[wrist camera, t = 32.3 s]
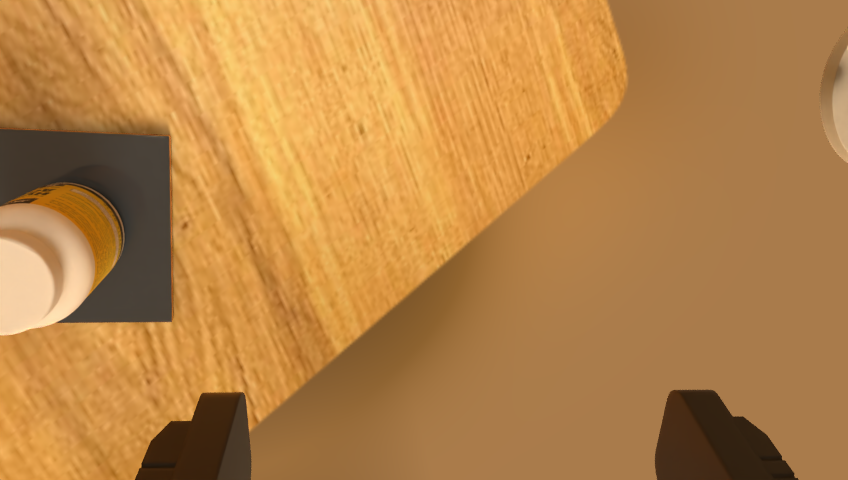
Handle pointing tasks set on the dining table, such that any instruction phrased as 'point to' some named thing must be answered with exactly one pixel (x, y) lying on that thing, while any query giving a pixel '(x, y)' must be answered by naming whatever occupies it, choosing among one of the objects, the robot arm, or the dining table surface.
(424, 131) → the dining table surface
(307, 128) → the dining table surface
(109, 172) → the coaster
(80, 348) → the dining table surface
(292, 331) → the dining table surface
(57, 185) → the supplement bottle
